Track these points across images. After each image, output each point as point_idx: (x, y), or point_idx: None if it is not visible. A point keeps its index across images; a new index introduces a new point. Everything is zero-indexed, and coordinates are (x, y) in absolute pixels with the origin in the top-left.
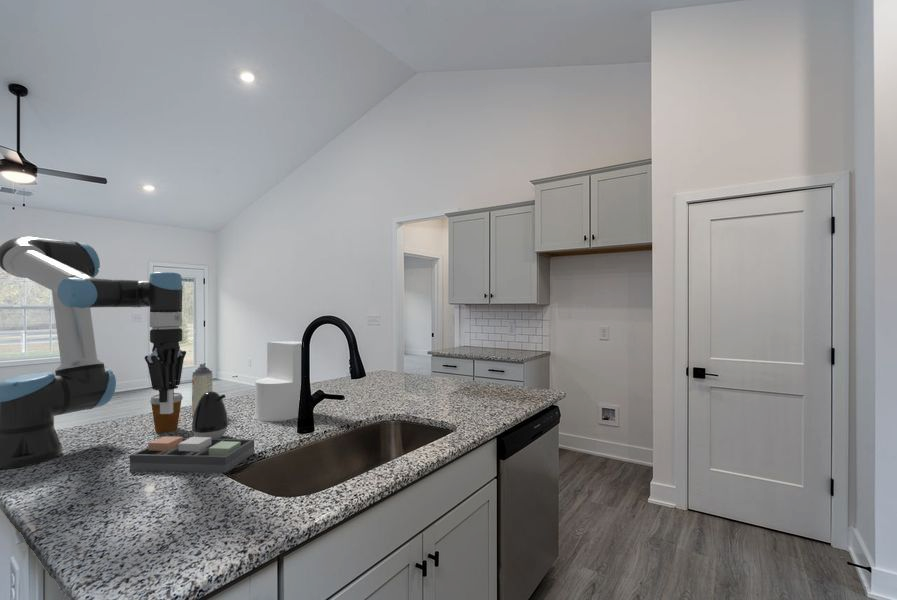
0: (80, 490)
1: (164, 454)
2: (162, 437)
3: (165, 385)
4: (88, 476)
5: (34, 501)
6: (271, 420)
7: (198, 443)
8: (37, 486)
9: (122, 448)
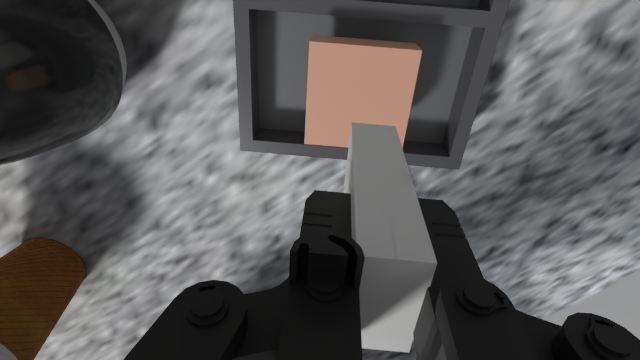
0: (593, 179)
1: (485, 18)
2: (320, 139)
3: (530, 354)
4: (471, 227)
5: (635, 238)
6: None
7: None
8: (517, 292)
9: (238, 279)
